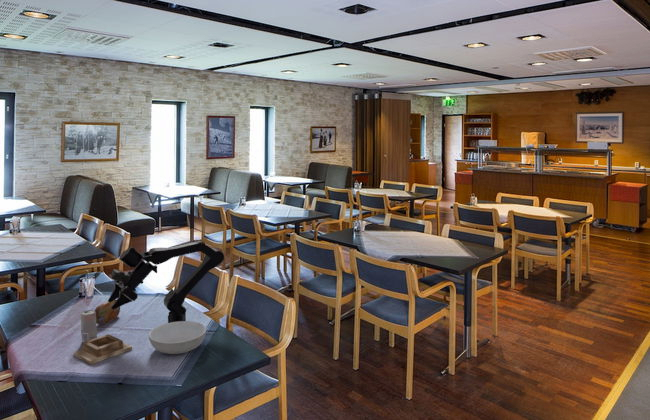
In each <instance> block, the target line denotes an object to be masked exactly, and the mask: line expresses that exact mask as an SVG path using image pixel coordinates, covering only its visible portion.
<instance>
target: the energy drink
mask: <svg viewBox="0 0 650 420" xmlns="http://www.w3.org/2000/svg"><path fill="white" fill-rule="evenodd" d="M80 328H81V329H80V331H81V343H82V344H83V342H85V341H88V340H91V339H95V338H98V331H97V328H98V327H97V323H96V313H95V309H94V310H93V309H91V310H90V309H88V310H84V311H81V313H80Z"/></svg>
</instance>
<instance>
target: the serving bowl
mask: <svg viewBox="0 0 650 420" xmlns="http://www.w3.org/2000/svg"><path fill="white" fill-rule="evenodd" d="M206 334H207V327H206V326H205V325H203V324H202V323H200V322H196V321H188V320H186V321H179V322H171V323H168V322H167V323H165V324H161V325H159V326H158V325H157V326H156V327H154V328H153V329H151V331H149V333H148V339H149V342H150V345H151V346H152V347H153V348H154V349H155V350H157V351H158V352H160V353H162V354H168V355H169V354H170V355H176V354H177V355H178V354H185V353H188V352H191V351H192V350H195V349H197V348H198V347H199V346H200V345H201V344H202V343H203V342H204V340H205V338H206Z"/></svg>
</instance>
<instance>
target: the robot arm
mask: <svg viewBox="0 0 650 420" xmlns="http://www.w3.org/2000/svg"><path fill="white" fill-rule="evenodd" d="M199 252H201V253H202V254H204V257H203V259H202V262H201V263H200V265H199V266H198V267H196V269H195V270H194V271H193V272H191V274H190V275H189V276H188V277H187V278H186V279H185V280H184V281H183V282H182V284H181V285H179V287H177V289H173V288H170V290H169V291H168V292H167V293H166V294H164V296H165V297H164V298H163V305H164V306H165V307H166V309H167V310H168V311H169V312H168V314H167V323H171V322H179V321H187V320H186V318H187V317H186V312H187V308H186V307H185V306H184V305H183V304H184V302H185V300H186V297H187V295H189V293H190V292H191V291H192V290H193V289H194V288H195V286H197V285H198V283H200V281H201V280H202V279H203V278H204V277H205V276H206V275H207V274H208V273H209V271H211V270H212V269H215V268H216V267H218V266H219V265H221V264H223V262H224V260H225V255H224V252H222V251H221V250H219V249H218V248H216V247H215V248H213V247H210V246H209V245H207V244H206V243H205V242H204V241H202V240H197V241H194V242H189V243H184V244H180V245H176V246H172V247H171V246H170V247H154V248H150V249H149V250H148V251H144V252H139V251H138V250H137V249H135V248H134V247H133V246H130V247H129V248H127V249H126V250H124V251H123V252H121V254H120V255H119V257H118V260H119V261H120V262H122V263H123V264H124V265H126V266H127V267H128V268H131V269H132V268H134V269H132V270H129V271H128V272H124V271H121V270H118V269H114V268H113V270H112V273H111V274H110V278H111V280H114V282H113V285H114V289H113V291H112V293H111V294H110V295H109V298H108V300H107V301H108V302H112V301H113V300H116V301H115V303H114V304H113V306H112V307H111V308H112V309H116V308H118V307H120V308H121V307H122V306H124V305H126V304H130V303H133V302H135V301H136V300H137V299H138V297H139V296H138V293H137V292H136V291H137V288H138V287H139V285H142V284H143V283H144V280H145V279H147V277H148V275H150V274H151V273H152V271H153V272H154V273H156V274H158V265H161V264H163V263H166V262H168V261H169V260H171V259H173V258H177V257H181V256H185V255H186V256H187V255H189V254H193V253H199Z"/></svg>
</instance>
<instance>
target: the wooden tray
mask: <svg viewBox="0 0 650 420" xmlns="http://www.w3.org/2000/svg"><path fill="white" fill-rule="evenodd" d="M132 350H133V346H132V345H130V344H127V343H125V342H124V340H122V339H120V338H118V337H115V336H113V335H112V334H109V333H106V334H105V335H101V336H97V338H95V339H91V340H88V341H85V342H83V343H82V349H79V350H75V351H73V356H74V355H75V356H74V357H76V358H78V359H80V360H82V361H83V360H84V361H83V362H84V363H87V364H89V365H93V364H96V363H99V362H101V361H104V359H105V360H108V359H110V358H114V357H115V356H119V355H121V354H123V353H126V351H127V352H130V351H132Z"/></svg>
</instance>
